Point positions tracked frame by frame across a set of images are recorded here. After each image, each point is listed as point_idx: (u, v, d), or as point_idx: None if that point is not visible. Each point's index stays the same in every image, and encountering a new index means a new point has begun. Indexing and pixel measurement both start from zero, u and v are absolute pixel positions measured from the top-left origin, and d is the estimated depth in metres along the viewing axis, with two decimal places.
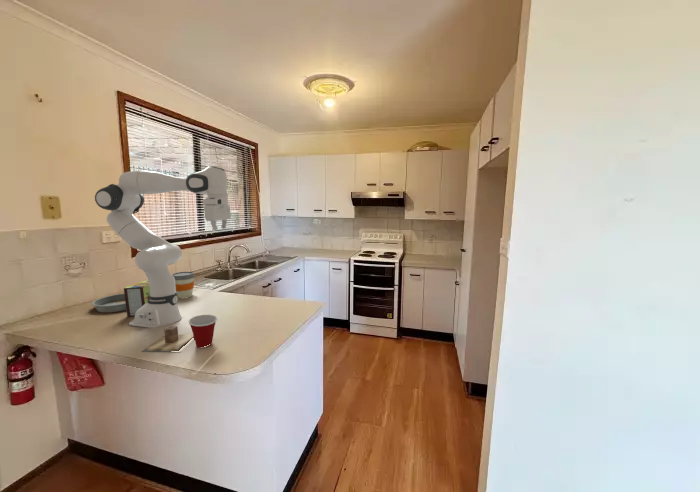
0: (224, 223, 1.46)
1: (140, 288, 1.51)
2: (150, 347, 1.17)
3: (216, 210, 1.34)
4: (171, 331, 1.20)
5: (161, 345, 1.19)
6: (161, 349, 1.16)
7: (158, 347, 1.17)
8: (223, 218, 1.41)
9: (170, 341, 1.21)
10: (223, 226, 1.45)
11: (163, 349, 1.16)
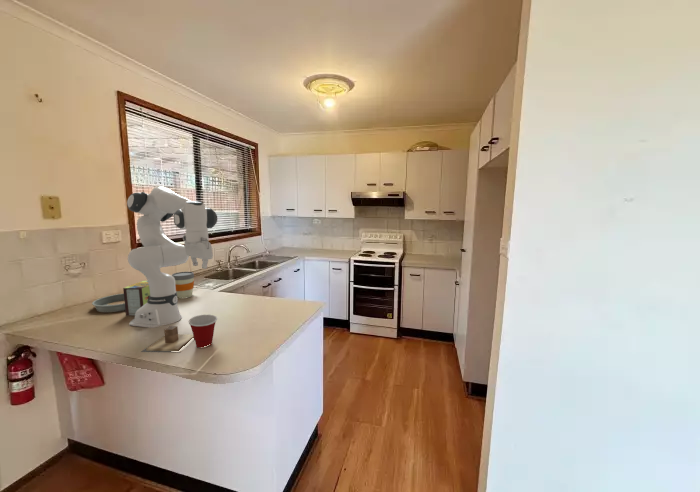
0: None
1: (139, 289, 1.51)
2: (150, 347, 1.17)
3: (189, 246, 1.33)
4: (171, 331, 1.20)
5: (161, 345, 1.19)
6: (161, 349, 1.16)
7: (158, 347, 1.17)
8: (195, 256, 1.30)
9: (170, 341, 1.21)
10: None
11: (163, 349, 1.16)
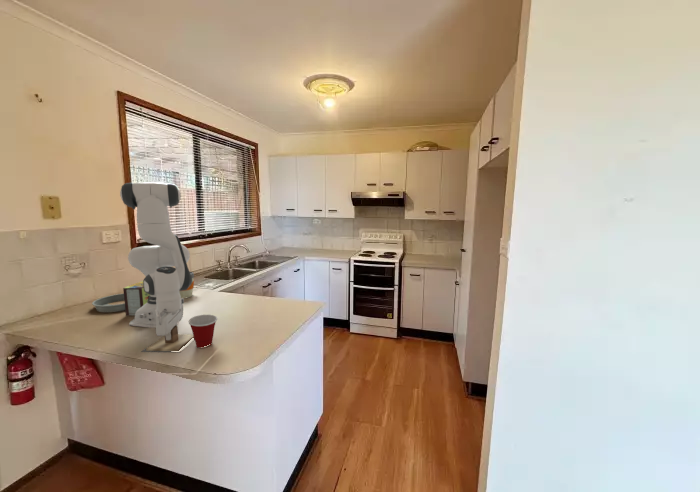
0: None
1: (139, 289, 1.51)
2: (150, 347, 1.17)
3: None
4: (171, 331, 1.20)
5: (161, 345, 1.19)
6: (161, 349, 1.16)
7: (158, 347, 1.17)
8: None
9: (170, 341, 1.21)
10: None
11: (163, 349, 1.16)
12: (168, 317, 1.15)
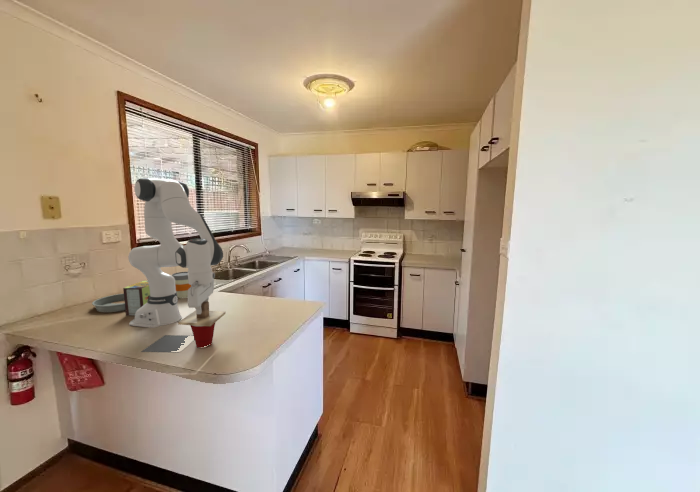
0: None
1: (139, 289, 1.51)
2: (182, 321, 1.15)
3: None
4: (203, 306, 1.18)
5: (193, 320, 1.16)
6: (193, 324, 1.14)
7: (190, 321, 1.15)
8: None
9: (201, 316, 1.18)
10: None
11: (196, 323, 1.14)
12: (200, 289, 1.12)
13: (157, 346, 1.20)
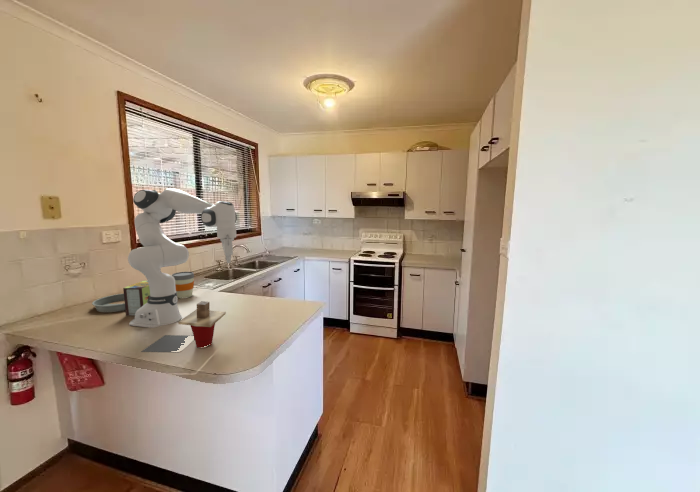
0: None
1: (139, 289, 1.51)
2: (182, 321, 1.15)
3: (223, 241, 1.48)
4: (203, 306, 1.18)
5: (193, 320, 1.16)
6: (193, 324, 1.14)
7: (190, 321, 1.15)
8: None
9: (202, 316, 1.18)
10: None
11: (196, 324, 1.14)
12: None
13: (157, 346, 1.20)
